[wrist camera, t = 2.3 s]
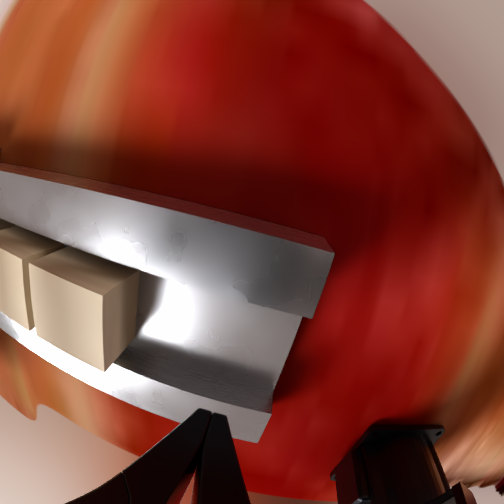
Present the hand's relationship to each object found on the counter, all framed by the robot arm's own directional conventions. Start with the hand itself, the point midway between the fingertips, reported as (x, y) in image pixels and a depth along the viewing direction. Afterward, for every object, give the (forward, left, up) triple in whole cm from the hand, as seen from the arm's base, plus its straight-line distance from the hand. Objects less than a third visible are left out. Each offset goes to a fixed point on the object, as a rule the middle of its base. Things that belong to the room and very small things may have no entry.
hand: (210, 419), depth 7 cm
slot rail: (+8, 0, -6) cm, 10 cm away
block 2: (+7, 0, -5) cm, 8 cm away
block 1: (+11, 0, -5) cm, 12 cm away
